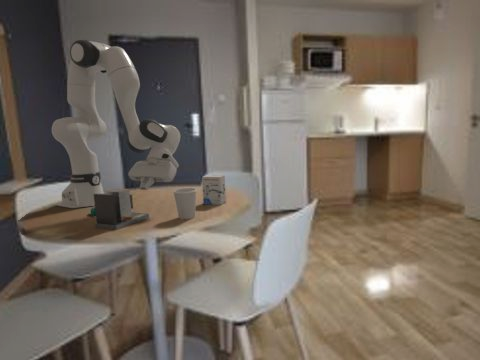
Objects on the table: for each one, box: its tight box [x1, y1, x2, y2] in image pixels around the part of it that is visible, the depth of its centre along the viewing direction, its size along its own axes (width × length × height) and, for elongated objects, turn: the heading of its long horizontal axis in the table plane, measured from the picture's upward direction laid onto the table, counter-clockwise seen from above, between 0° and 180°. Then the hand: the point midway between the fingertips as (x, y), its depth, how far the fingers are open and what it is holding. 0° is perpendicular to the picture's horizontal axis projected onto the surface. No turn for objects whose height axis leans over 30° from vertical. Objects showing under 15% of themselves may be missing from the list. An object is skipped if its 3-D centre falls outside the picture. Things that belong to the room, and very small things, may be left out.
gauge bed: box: [93, 193, 150, 231], centre depth 127 cm, size 10×16×12 cm, turn 153°
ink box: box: [201, 174, 227, 206], centre depth 150 cm, size 9×5×12 cm, turn 68°
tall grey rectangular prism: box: [105, 188, 134, 221], centre depth 126 cm, size 9×6×10 cm
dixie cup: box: [172, 187, 198, 220], centre depth 129 cm, size 8×8×10 cm
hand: (143, 188), depth 137 cm, fingers closed
